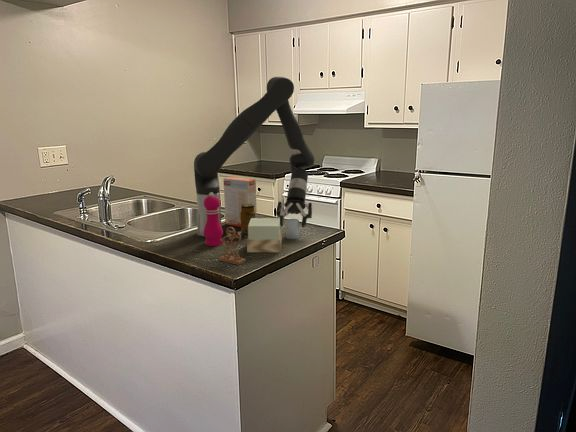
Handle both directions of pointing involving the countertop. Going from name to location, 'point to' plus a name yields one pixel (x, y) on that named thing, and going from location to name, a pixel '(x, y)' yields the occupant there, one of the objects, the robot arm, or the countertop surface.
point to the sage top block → (264, 229)
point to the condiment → (246, 218)
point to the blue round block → (292, 228)
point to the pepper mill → (212, 221)
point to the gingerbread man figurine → (227, 256)
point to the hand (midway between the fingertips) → (292, 225)
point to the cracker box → (238, 198)
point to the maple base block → (264, 245)
